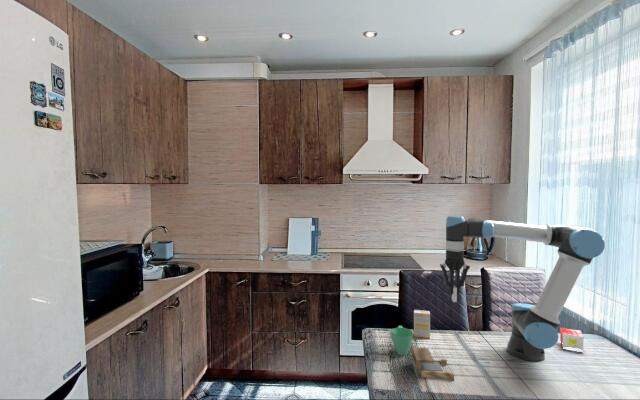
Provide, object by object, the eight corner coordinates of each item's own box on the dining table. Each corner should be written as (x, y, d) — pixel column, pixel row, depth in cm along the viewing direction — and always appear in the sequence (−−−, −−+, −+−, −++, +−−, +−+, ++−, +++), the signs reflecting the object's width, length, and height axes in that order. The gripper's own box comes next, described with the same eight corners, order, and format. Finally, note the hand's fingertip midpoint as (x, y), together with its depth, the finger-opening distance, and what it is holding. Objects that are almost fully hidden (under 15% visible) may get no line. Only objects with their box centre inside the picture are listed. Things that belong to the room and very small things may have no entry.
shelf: (446, 363, 146) (446, 347, 146) (455, 380, 133) (455, 363, 133) (411, 362, 148) (412, 346, 147) (417, 378, 135) (417, 361, 134)
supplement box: (430, 335, 175) (430, 310, 175) (430, 339, 171) (430, 314, 170) (414, 333, 178) (414, 309, 178) (413, 336, 173) (413, 312, 173)
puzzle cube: (562, 349, 159) (562, 333, 159) (560, 343, 166) (560, 327, 166) (583, 353, 155) (583, 337, 155) (580, 346, 162) (580, 330, 162)
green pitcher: (414, 358, 151) (414, 336, 151) (392, 357, 152) (392, 335, 152) (409, 343, 166) (409, 324, 165) (389, 342, 167) (389, 323, 166)
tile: (438, 368, 143) (438, 362, 143) (443, 377, 136) (443, 370, 136) (417, 367, 144) (417, 361, 144) (420, 376, 137) (420, 369, 137)
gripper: (466, 248, 153) (466, 298, 154) (437, 248, 155) (437, 297, 155) (472, 251, 146) (471, 304, 146) (442, 251, 147) (441, 303, 148)
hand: (454, 301), depth 151 cm, fingers closed
